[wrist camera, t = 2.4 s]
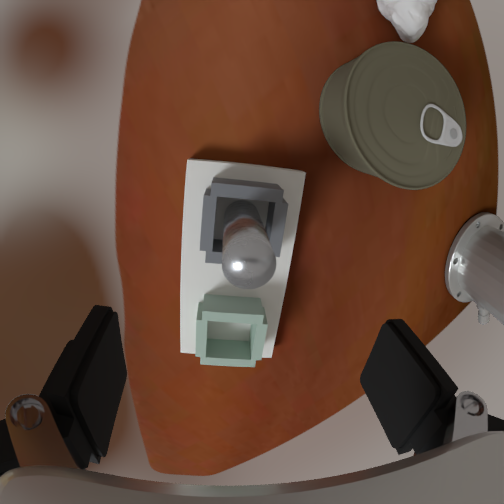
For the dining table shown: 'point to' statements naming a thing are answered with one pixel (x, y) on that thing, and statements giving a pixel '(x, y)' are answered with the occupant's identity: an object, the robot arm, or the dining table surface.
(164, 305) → the dining table surface
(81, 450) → the robot arm
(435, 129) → the can
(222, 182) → the tool board
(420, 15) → the bust
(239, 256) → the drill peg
